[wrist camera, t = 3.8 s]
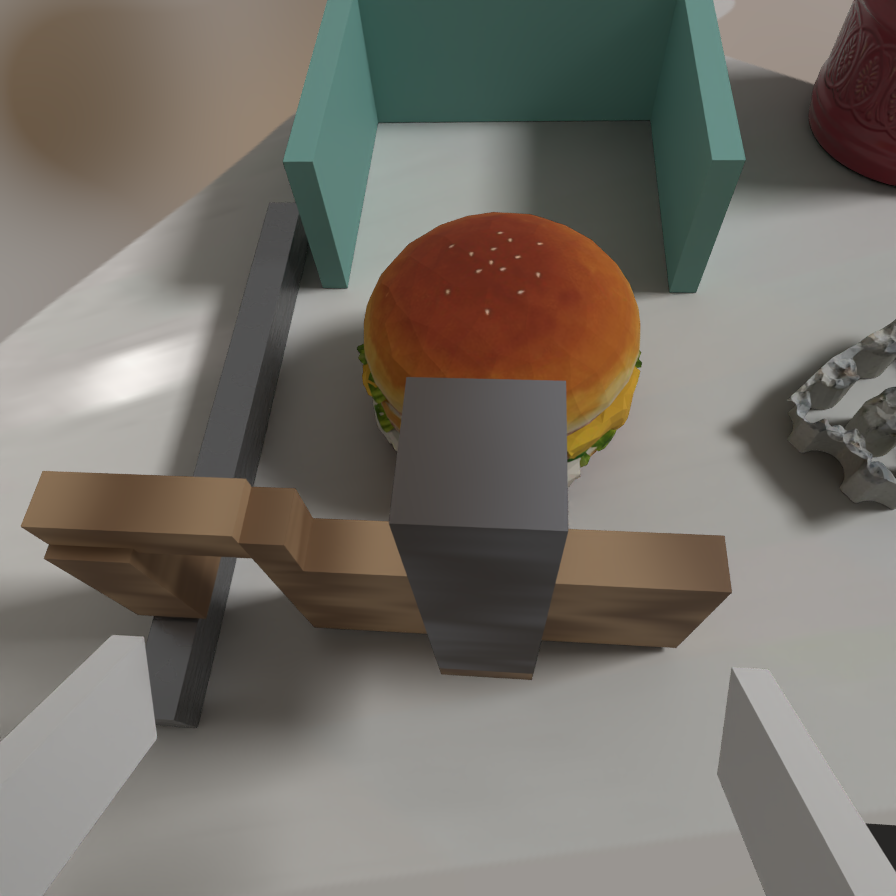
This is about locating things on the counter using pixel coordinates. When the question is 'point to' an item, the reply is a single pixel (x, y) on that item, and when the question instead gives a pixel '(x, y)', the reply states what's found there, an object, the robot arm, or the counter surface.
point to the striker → (404, 540)
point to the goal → (517, 100)
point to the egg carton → (869, 430)
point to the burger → (507, 321)
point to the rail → (232, 453)
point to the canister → (860, 93)
